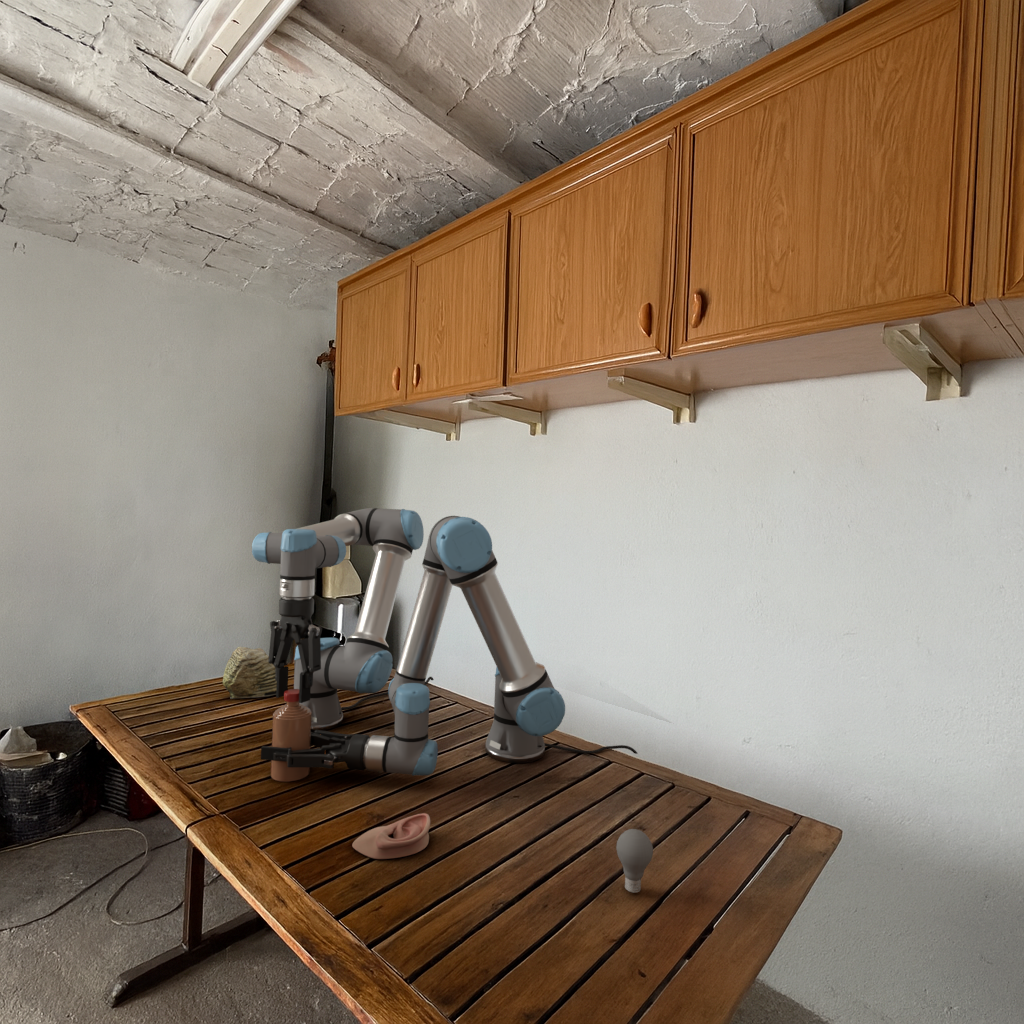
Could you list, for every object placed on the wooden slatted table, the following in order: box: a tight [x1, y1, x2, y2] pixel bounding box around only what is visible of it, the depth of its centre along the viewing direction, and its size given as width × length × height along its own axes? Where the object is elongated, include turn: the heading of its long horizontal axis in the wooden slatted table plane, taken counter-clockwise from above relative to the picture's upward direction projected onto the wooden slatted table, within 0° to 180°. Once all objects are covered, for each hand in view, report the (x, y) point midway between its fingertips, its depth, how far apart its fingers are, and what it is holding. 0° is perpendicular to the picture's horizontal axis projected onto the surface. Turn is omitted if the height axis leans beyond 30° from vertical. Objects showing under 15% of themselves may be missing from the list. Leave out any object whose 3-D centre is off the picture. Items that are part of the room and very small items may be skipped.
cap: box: [283, 688, 299, 703], centre depth 144 cm, size 4×4×2 cm
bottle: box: [270, 701, 312, 783], centre depth 144 cm, size 8×8×18 cm
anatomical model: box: [351, 812, 431, 860], centre depth 117 cm, size 13×4×12 cm
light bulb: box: [615, 828, 654, 894], centre depth 106 cm, size 6×6×10 cm
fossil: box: [222, 646, 277, 699], centre depth 198 cm, size 9×18×15 cm, turn 132°
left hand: (293, 698), depth 144 cm, fingers open, 6 cm apart
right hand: (271, 744), depth 144 cm, fingers closed on bottle, 8 cm apart
